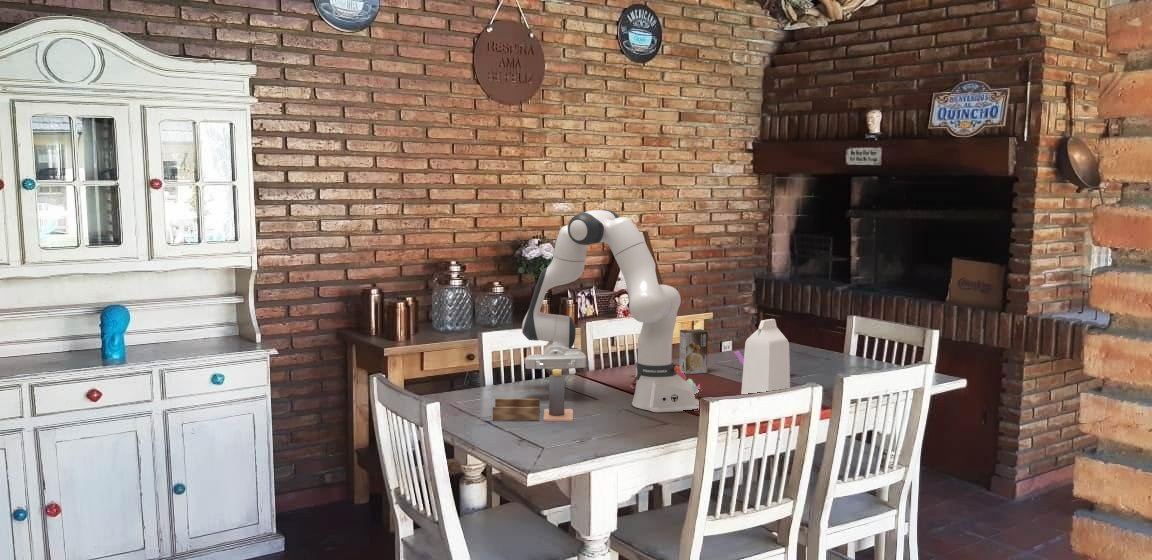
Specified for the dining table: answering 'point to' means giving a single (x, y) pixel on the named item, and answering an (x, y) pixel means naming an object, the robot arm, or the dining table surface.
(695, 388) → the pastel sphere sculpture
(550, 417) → the terracotta tile
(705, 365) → the coffee box
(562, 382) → the grey tall block
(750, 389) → the milk
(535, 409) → the guide channel
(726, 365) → the dining table surface
